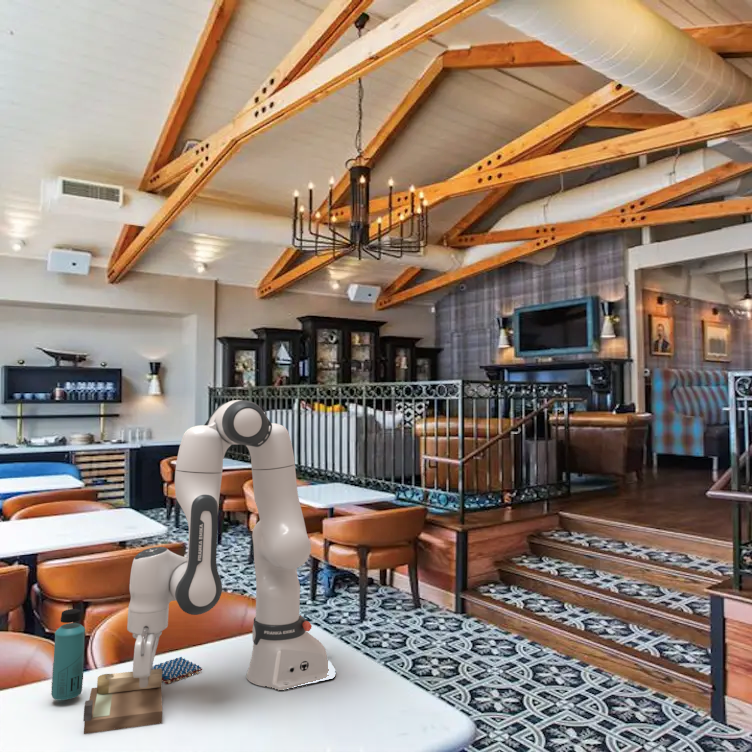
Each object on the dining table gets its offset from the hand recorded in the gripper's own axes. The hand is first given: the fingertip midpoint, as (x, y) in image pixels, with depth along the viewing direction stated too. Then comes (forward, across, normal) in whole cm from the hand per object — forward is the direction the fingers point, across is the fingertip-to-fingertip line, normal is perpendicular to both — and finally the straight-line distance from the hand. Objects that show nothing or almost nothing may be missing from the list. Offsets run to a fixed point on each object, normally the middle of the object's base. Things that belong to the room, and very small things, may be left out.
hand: (144, 681), depth 141 cm
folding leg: (+1, 0, +3) cm, 3 cm away
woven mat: (+5, +14, -6) cm, 16 cm away
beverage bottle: (+4, +3, +17) cm, 18 cm away
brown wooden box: (+4, -5, +3) cm, 7 cm away
